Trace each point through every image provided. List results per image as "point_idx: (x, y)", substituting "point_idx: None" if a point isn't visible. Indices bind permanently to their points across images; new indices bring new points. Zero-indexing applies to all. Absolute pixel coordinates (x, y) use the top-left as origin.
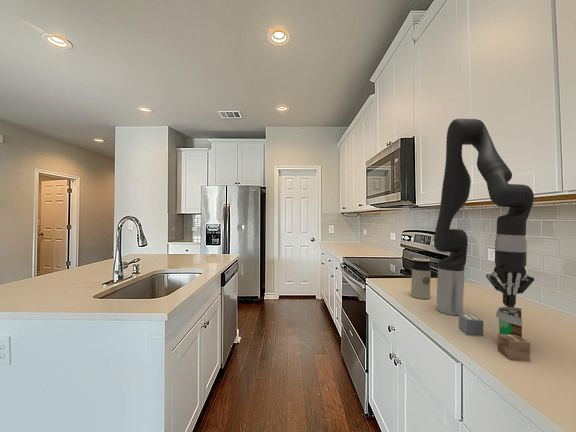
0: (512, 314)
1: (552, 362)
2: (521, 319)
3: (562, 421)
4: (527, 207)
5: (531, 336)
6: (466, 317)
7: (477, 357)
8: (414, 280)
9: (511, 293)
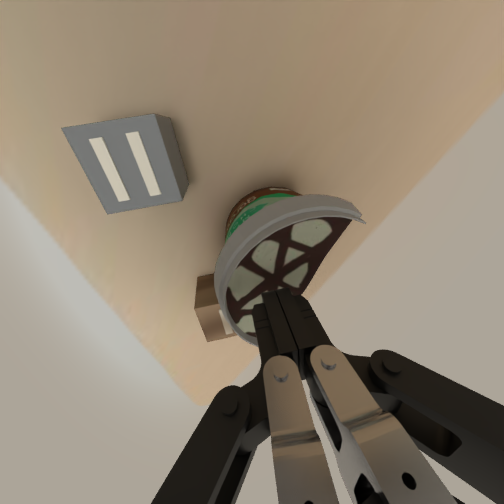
0: (274, 287)
1: None
2: None
3: (205, 403)
4: None
5: (362, 132)
6: (105, 174)
7: (141, 320)
8: None
9: (308, 383)
